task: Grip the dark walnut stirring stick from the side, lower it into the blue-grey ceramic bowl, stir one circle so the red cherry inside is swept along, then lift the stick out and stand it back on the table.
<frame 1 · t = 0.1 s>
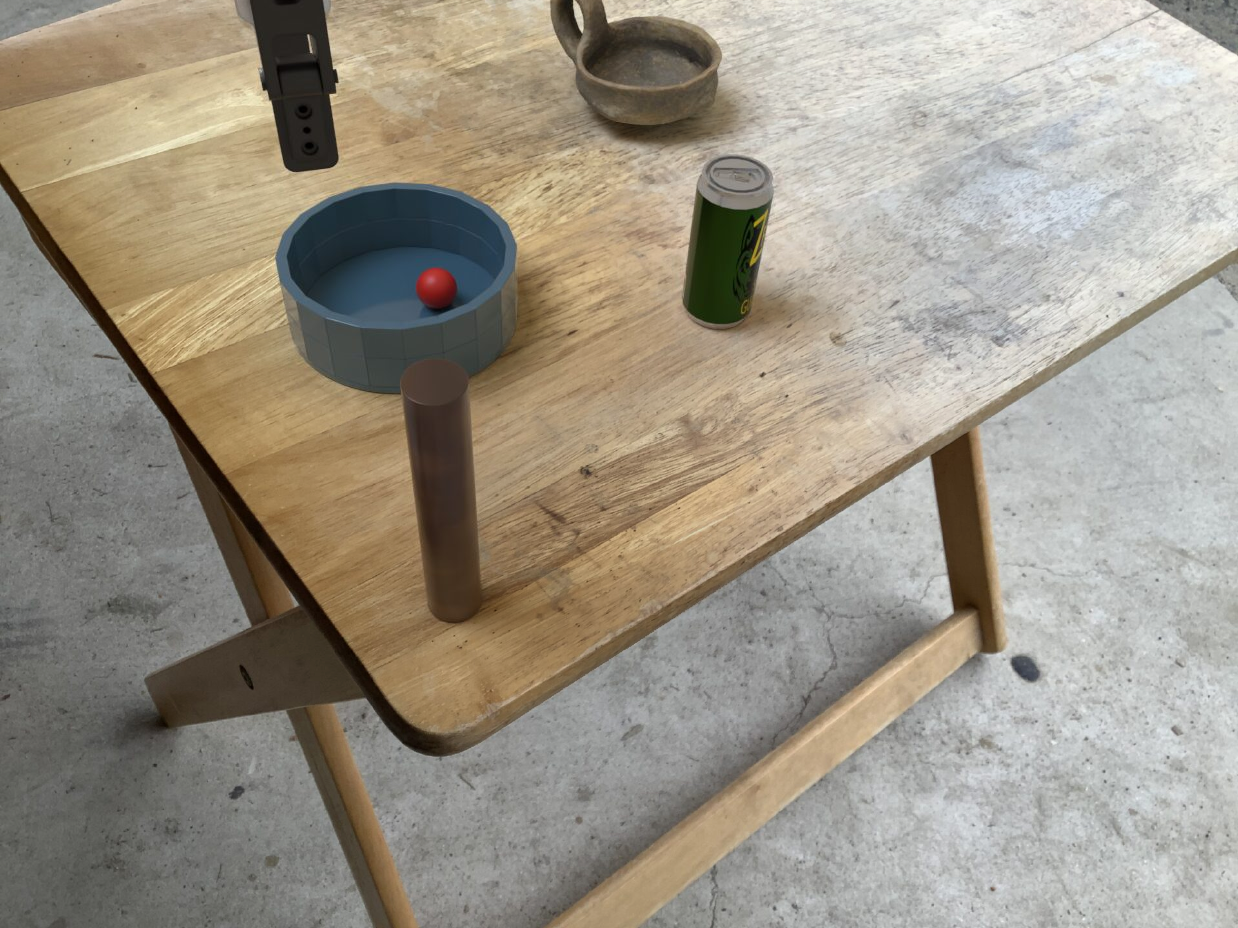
hand: (298, 112, 47), 28 cm above the table, tool pointing down, fingers open, 8 cm apart
cherry: (436, 288, 80), point 2 cm above the table, touching mixing bowl
bowl: (629, 105, 103), on the table
beer can: (715, 310, 84), on the table
mixing bowl: (405, 315, 81), on the table
stir stick: (454, 600, 65), on the table
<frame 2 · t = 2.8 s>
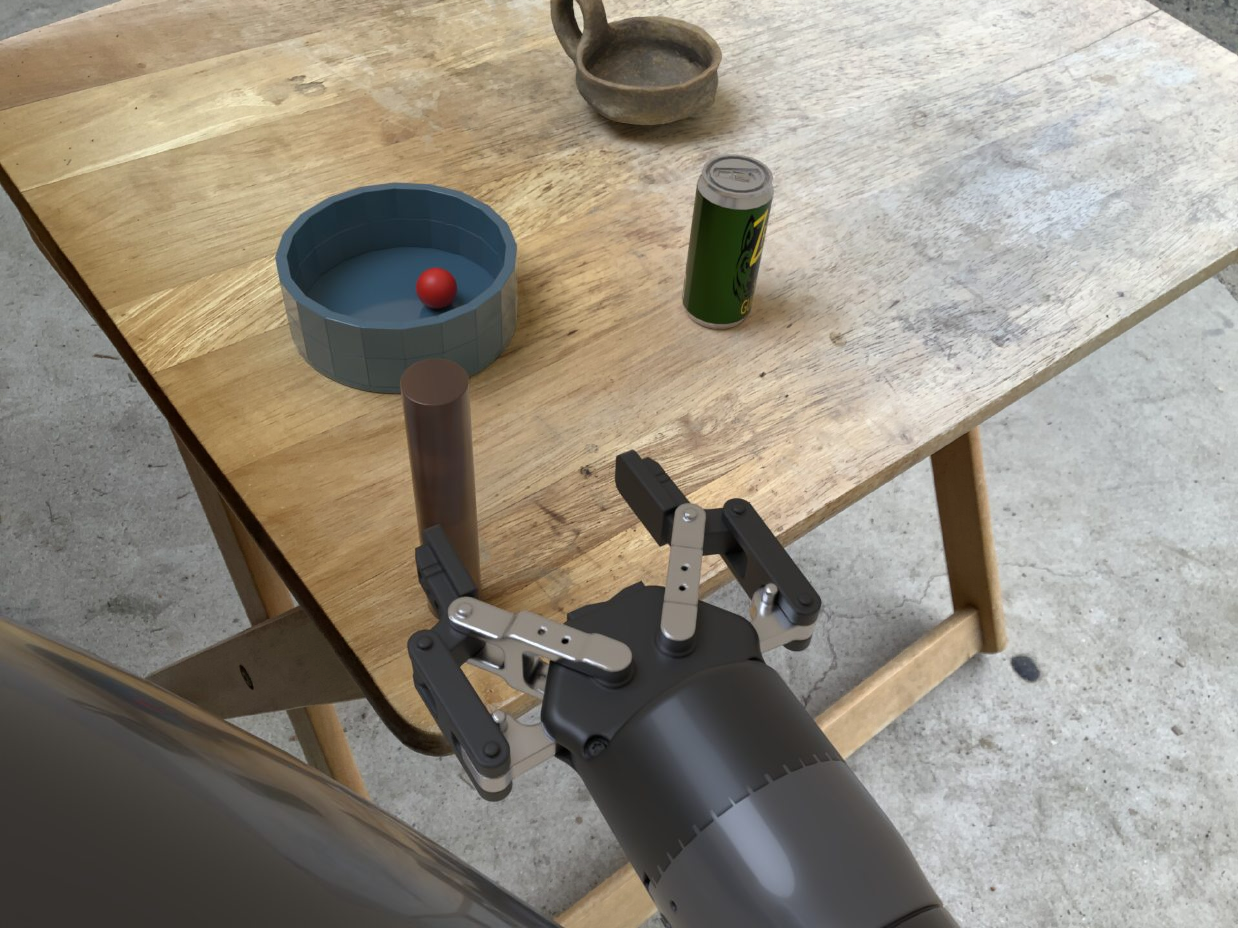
hand: (529, 502, 44), 20 cm above the table, tool horizontal, fingers open, 8 cm apart
nothing on the table moved.
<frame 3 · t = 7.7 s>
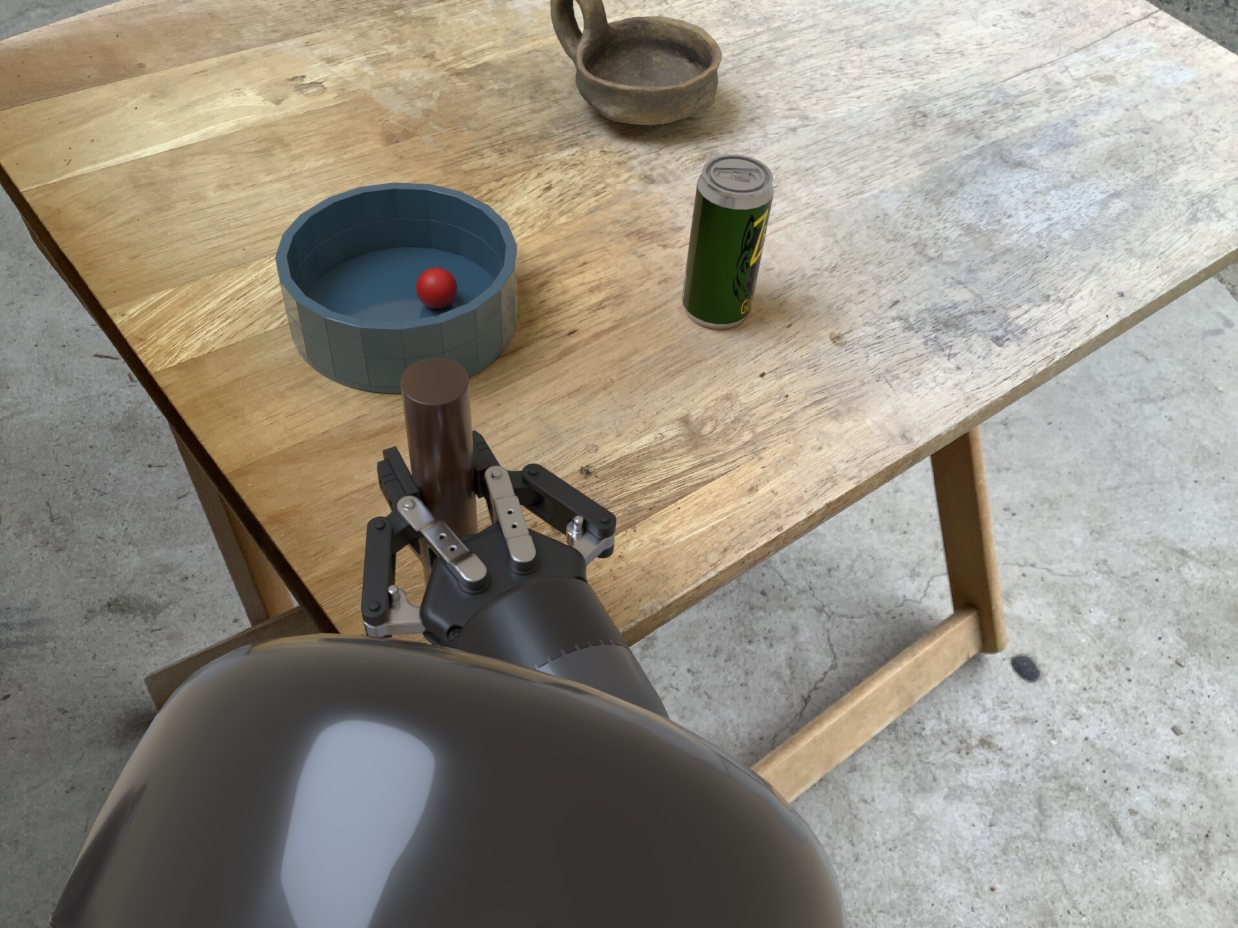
hand: (423, 448, 58), 11 cm above the table, tool horizontal, fingers closed on stir stick, 3 cm apart
stir stick: (454, 600, 65), on the table, touching gripper
everything else where it was.
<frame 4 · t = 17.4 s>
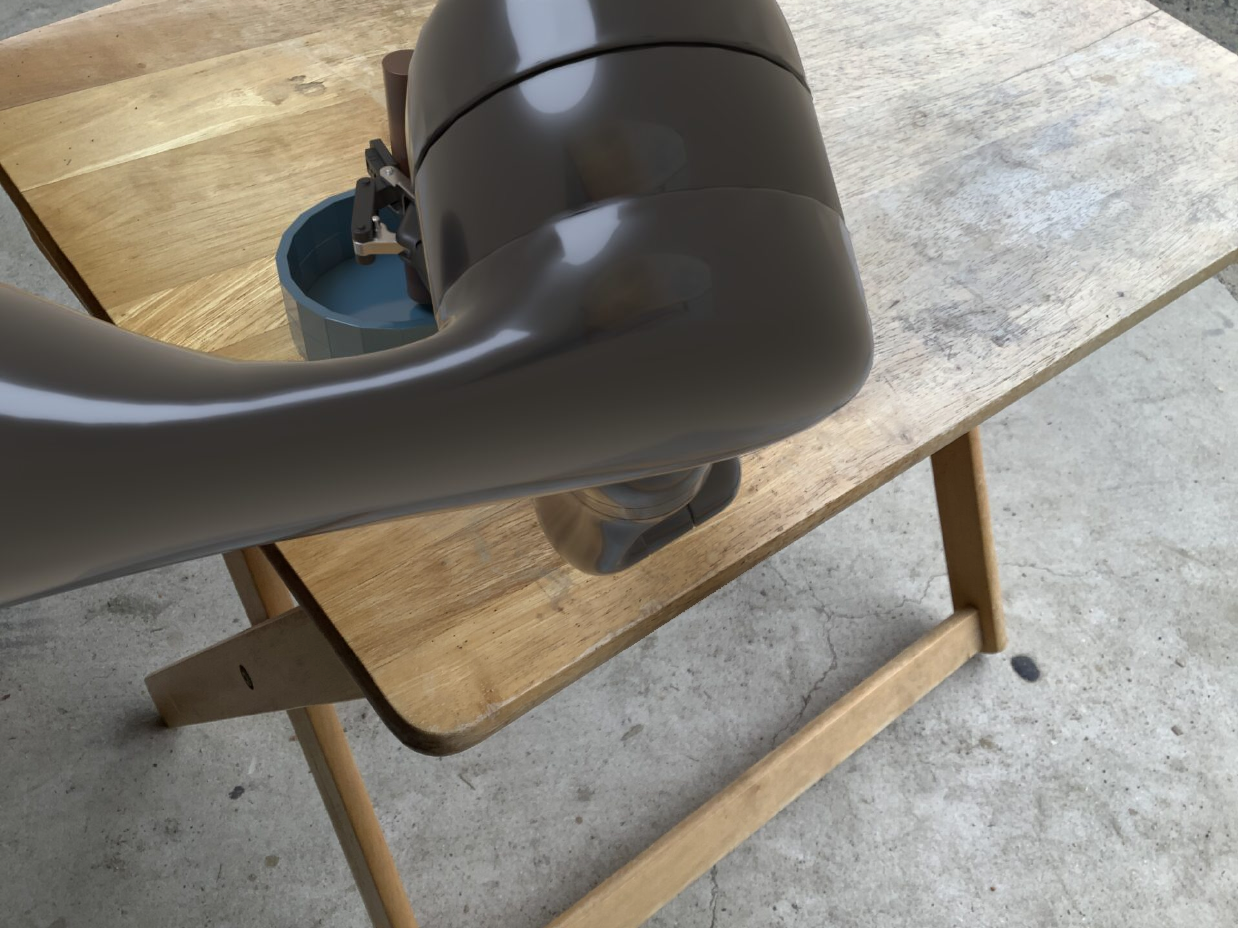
hand: (402, 146, 74), 12 cm above the table, tool horizontal, fingers closed on stir stick, 3 cm apart
cherry: (473, 267, 82), point 2 cm above the table, tilted 136°, touching mixing bowl
stir stick: (429, 290, 81), point 2 cm above the table, touching gripper
everything else where it was.
when the fingers open (10 cm above the table, at t = 27.8 s): stir stick stays where it is, on the table.
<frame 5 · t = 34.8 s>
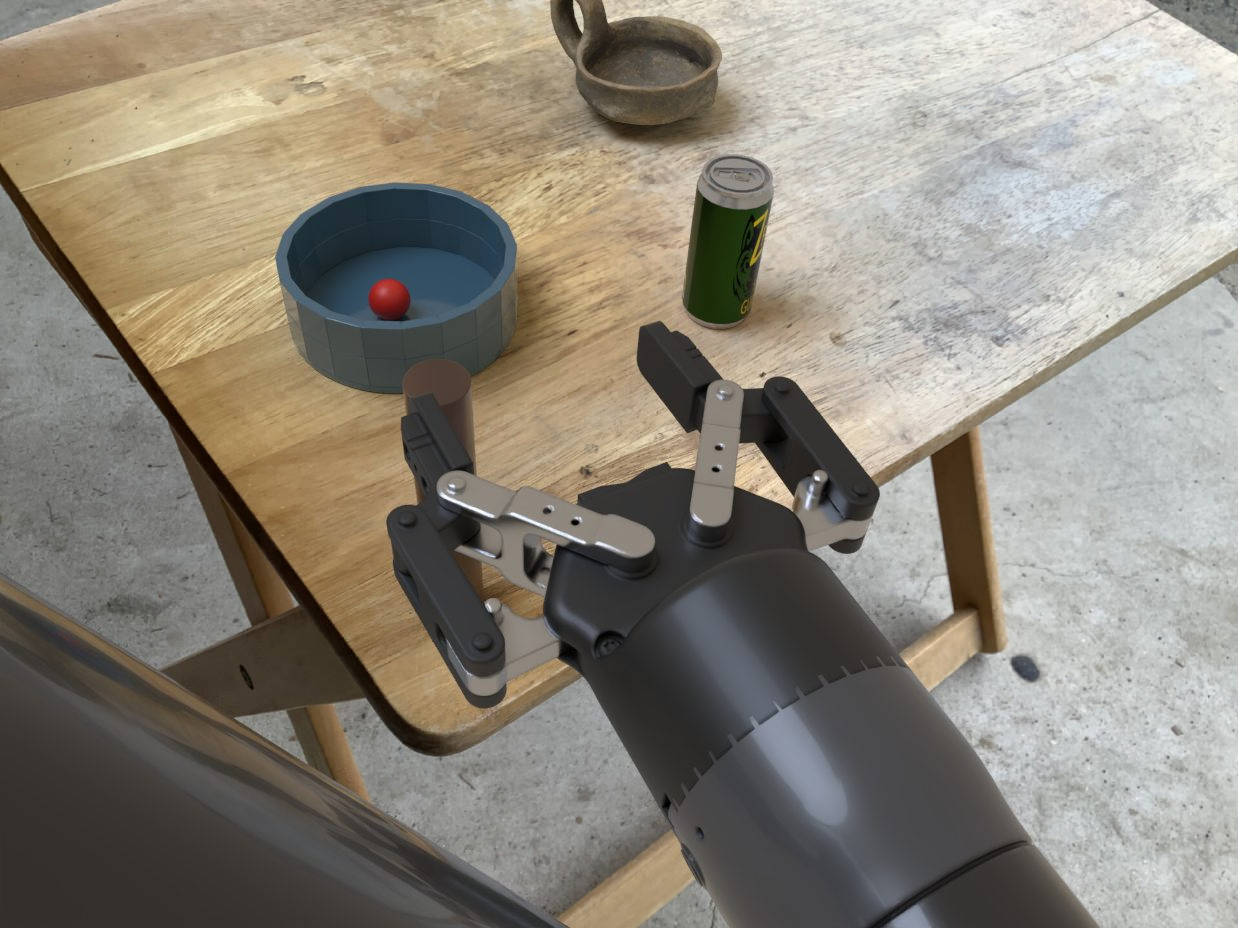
hand: (537, 375, 37), 28 cm above the table, tool horizontal, fingers open, 8 cm apart
cherry: (389, 299, 79), point 2 cm above the table, tilted 132°, touching mixing bowl
stir stick: (456, 600, 65), on the table
everything else where it was.
at the end: cherry moved 3.5 cm from its start; cherry inside the target area in the mixing bowl (1.1 cm from its centre), point 2.1 cm above the mixing bowl's base; stir stick tilted 0° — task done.
